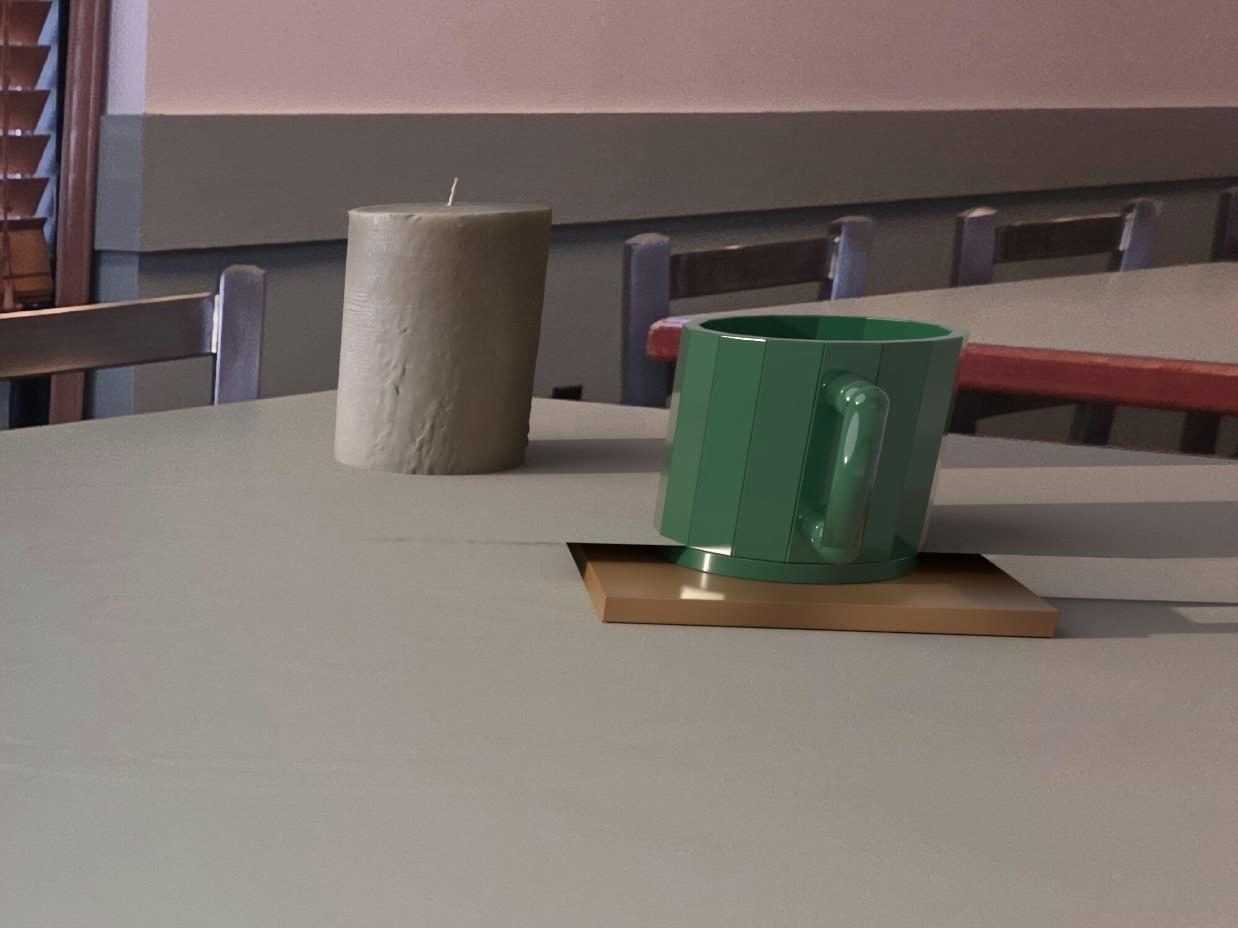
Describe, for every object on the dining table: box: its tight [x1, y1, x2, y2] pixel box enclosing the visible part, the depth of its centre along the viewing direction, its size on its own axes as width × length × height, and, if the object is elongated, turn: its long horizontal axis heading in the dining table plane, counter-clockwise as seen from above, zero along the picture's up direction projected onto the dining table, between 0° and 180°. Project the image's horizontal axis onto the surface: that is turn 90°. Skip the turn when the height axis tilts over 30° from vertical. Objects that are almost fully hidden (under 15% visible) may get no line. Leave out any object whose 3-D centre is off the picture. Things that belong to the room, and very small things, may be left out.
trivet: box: [565, 541, 1060, 638], centre depth 72 cm, size 16×16×1 cm
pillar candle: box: [333, 177, 553, 476], centre depth 86 cm, size 10×10×15 cm
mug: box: [651, 313, 970, 584], centre depth 68 cm, size 14×10×9 cm
